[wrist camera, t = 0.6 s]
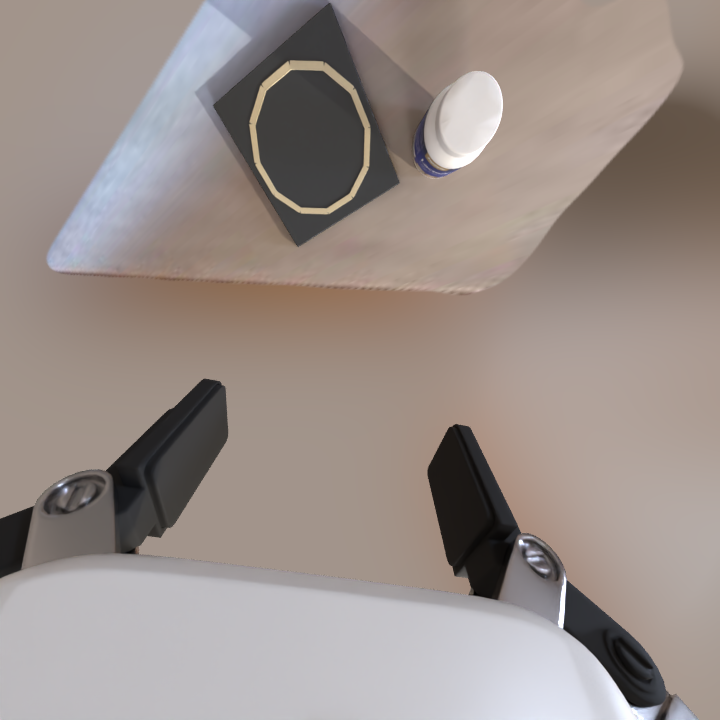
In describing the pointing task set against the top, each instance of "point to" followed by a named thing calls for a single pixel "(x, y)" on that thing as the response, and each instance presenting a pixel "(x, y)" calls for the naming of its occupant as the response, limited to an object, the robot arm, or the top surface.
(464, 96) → the pill bottle
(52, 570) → the robot arm
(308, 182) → the board
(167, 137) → the top surface
